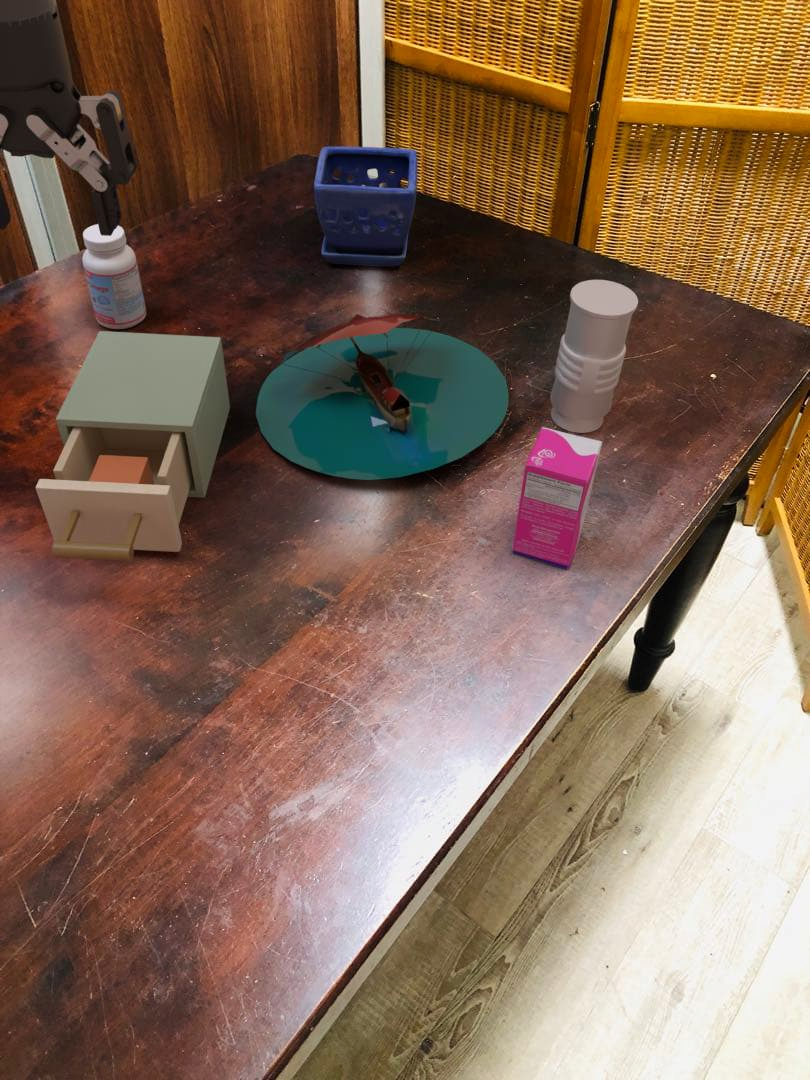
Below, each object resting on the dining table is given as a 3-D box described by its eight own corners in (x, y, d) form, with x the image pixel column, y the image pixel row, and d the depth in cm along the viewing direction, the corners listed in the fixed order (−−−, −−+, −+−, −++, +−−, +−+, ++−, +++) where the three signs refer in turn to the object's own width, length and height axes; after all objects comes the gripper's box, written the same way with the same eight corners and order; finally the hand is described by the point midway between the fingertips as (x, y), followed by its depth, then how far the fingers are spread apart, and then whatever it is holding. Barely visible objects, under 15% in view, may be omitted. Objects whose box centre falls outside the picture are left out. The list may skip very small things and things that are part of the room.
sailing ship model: (444, 318, 112) (442, 235, 104) (554, 442, 93) (562, 352, 85) (230, 376, 105) (211, 292, 97) (303, 523, 86) (286, 432, 78)
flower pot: (313, 272, 118) (310, 185, 110) (323, 225, 127) (321, 142, 119) (412, 277, 118) (416, 191, 110) (415, 230, 128) (419, 147, 119)
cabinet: (204, 498, 87) (192, 426, 81) (77, 491, 87) (55, 418, 81) (230, 407, 97) (221, 337, 91) (116, 401, 97) (99, 330, 91)
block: (96, 523, 82) (85, 487, 78) (109, 490, 85) (99, 454, 81) (145, 525, 82) (136, 490, 78) (156, 492, 85) (148, 457, 81)
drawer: (167, 595, 77) (153, 537, 72) (37, 588, 77) (14, 530, 72) (207, 456, 90) (198, 399, 85) (96, 450, 90) (80, 392, 85)
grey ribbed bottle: (544, 430, 97) (567, 311, 86) (548, 393, 101) (571, 275, 91) (607, 440, 96) (639, 320, 85) (608, 402, 101) (638, 284, 90)
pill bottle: (87, 315, 109) (65, 229, 101) (131, 299, 112) (113, 214, 104) (111, 337, 106) (91, 250, 98) (156, 319, 109) (140, 234, 101)
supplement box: (525, 514, 87) (542, 423, 79) (583, 531, 86) (607, 441, 78) (508, 553, 84) (524, 462, 75) (568, 572, 82) (592, 481, 74)
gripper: (-135, 11, 56) (-51, 246, 68) (86, 23, 57) (133, 256, 68) (-86, -22, 62) (-15, 202, 73) (117, -11, 62) (155, 211, 73)
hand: (56, 228), depth 71 cm, fingers open, 8 cm apart
